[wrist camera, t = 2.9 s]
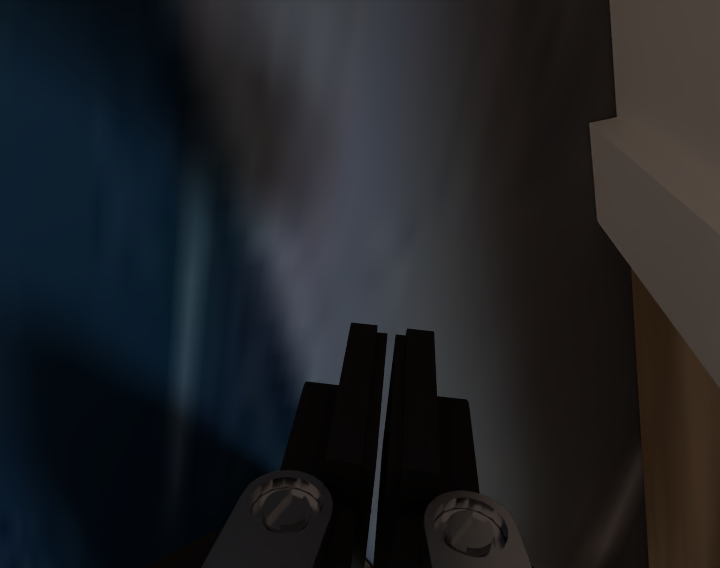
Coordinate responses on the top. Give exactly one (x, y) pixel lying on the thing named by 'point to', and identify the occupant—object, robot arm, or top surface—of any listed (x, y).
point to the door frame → (666, 161)
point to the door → (676, 442)
